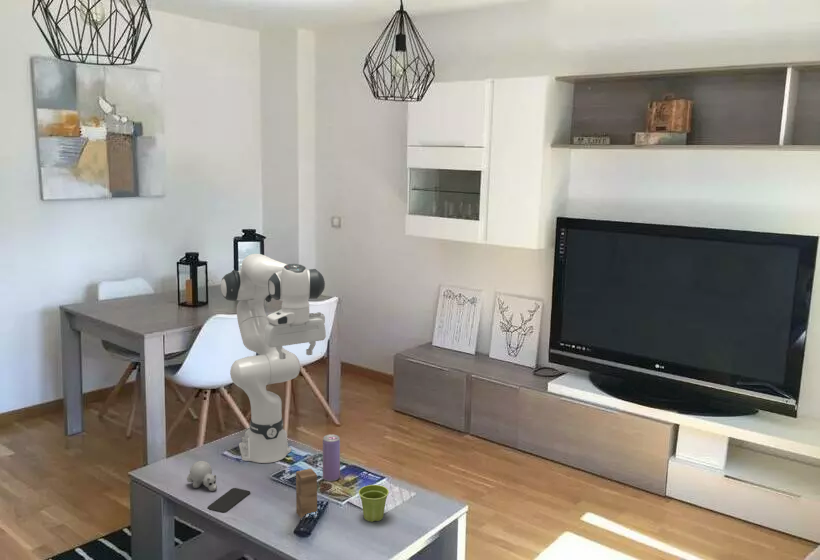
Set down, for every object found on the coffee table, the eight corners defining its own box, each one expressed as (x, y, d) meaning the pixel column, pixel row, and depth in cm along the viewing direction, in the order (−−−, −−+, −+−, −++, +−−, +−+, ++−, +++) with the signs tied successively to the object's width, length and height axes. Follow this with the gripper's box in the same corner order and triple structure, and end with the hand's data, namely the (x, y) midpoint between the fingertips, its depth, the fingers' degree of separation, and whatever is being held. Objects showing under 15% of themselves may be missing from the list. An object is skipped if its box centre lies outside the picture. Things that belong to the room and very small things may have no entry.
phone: (205, 507, 227) (233, 487, 241) (205, 510, 227) (233, 489, 241) (225, 512, 224) (251, 491, 238) (225, 514, 224) (251, 493, 238)
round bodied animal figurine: (203, 502, 236) (208, 483, 233) (182, 479, 242) (187, 460, 239) (221, 494, 242) (226, 475, 238) (200, 472, 248) (205, 453, 244)
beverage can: (336, 482, 246) (337, 441, 244) (320, 480, 248) (320, 440, 245) (341, 475, 252) (342, 435, 250) (325, 473, 253) (325, 433, 251)
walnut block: (296, 512, 226) (296, 471, 223) (311, 509, 228) (311, 468, 225) (302, 520, 221) (301, 478, 219) (317, 516, 224) (317, 474, 221)
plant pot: (378, 527, 218) (378, 501, 216) (352, 519, 222) (352, 493, 221) (393, 514, 226) (394, 489, 224) (368, 507, 230) (369, 482, 229)
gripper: (320, 309, 237) (320, 350, 239) (262, 316, 226) (262, 358, 228) (329, 313, 232) (329, 354, 234) (269, 320, 221) (270, 363, 223)
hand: (296, 356), depth 231 cm, fingers open, 8 cm apart
